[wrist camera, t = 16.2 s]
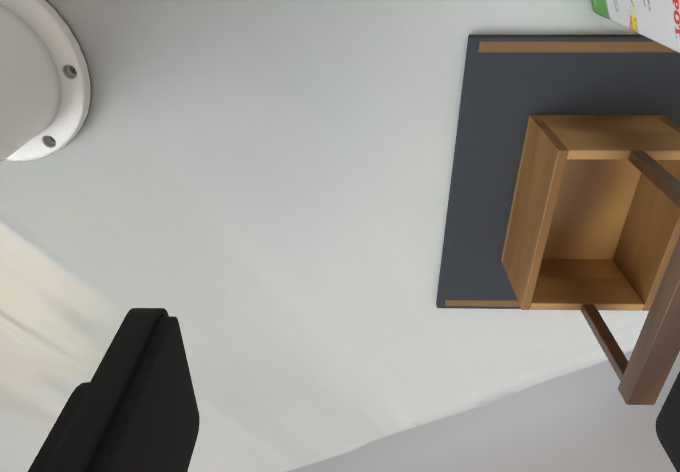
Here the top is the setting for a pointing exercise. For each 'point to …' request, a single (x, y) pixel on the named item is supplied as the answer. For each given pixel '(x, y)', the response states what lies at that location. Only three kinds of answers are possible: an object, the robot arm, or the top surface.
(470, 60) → the felt mat
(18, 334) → the top surface
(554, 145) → the basket
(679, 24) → the ink box
